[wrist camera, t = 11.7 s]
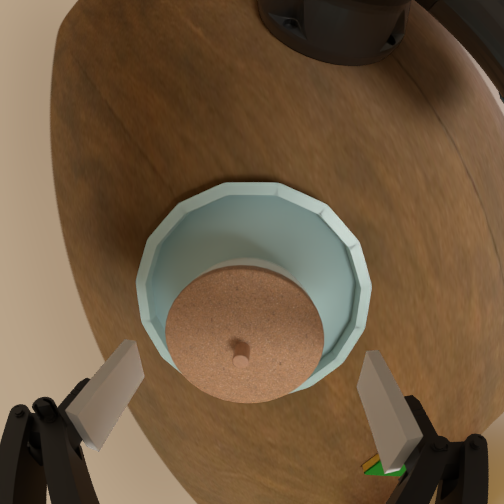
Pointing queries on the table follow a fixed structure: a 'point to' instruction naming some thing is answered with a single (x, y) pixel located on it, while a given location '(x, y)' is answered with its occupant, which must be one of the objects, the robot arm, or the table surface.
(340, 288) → the round tray
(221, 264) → the lidded jar
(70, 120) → the table surface
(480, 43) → the robot arm
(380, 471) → the dish sponge
